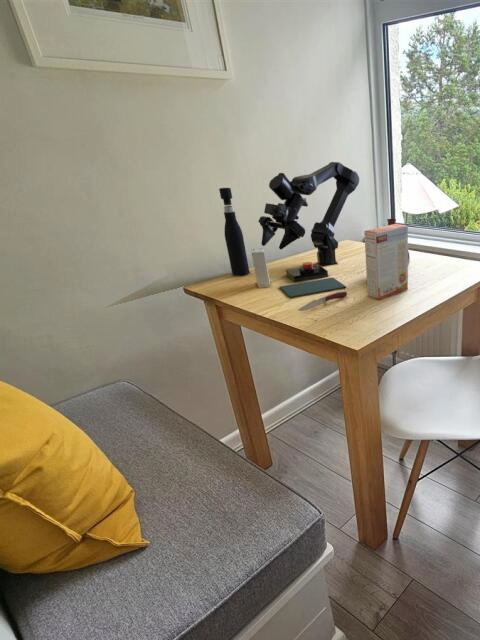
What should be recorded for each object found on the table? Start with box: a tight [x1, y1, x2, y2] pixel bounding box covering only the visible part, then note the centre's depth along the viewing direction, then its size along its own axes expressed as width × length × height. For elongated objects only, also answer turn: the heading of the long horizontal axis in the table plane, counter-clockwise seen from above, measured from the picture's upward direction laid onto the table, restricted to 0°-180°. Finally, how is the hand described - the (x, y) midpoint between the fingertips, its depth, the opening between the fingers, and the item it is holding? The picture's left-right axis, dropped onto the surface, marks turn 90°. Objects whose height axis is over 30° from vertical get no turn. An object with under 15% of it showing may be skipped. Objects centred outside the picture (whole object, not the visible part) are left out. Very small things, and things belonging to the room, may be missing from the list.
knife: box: [297, 290, 348, 312], centre depth 131 cm, size 20×1×3 cm, turn 139°
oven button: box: [302, 261, 314, 269], centre depth 155 cm, size 4×4×2 cm
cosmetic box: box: [250, 247, 271, 289], centre depth 148 cm, size 6×4×12 cm
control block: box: [285, 264, 329, 283], centre depth 158 cm, size 13×11×4 cm
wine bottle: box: [218, 187, 250, 277], centre depth 155 cm, size 6×6×30 cm
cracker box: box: [364, 223, 409, 300], centre depth 136 cm, size 14×6×21 cm, turn 135°
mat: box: [279, 277, 347, 299], centre depth 147 cm, size 20×12×1 cm, turn 118°
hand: (271, 247), depth 149 cm, fingers open, 9 cm apart
